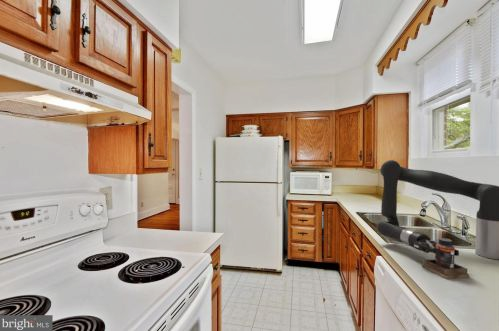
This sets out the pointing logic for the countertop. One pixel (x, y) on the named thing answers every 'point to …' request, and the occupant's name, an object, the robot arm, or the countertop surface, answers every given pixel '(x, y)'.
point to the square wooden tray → (445, 270)
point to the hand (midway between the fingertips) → (451, 253)
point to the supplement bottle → (449, 250)
